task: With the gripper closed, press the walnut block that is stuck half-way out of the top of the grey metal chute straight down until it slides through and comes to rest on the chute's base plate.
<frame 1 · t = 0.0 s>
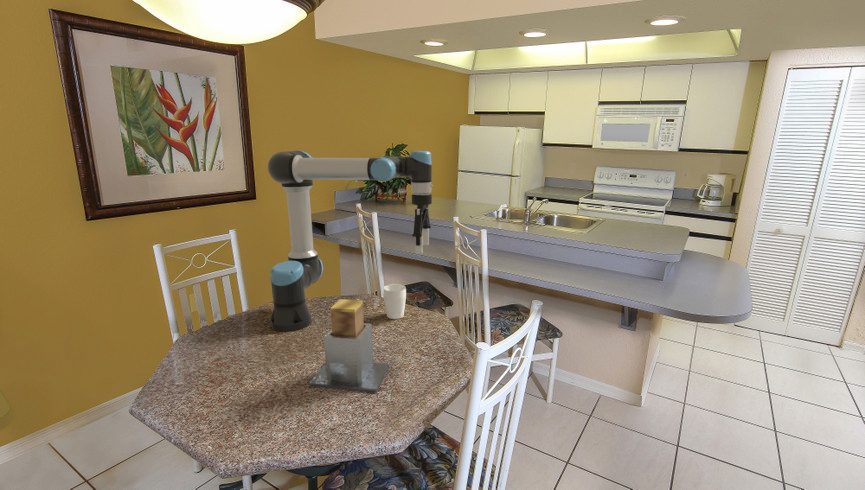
hand: (422, 249, 163), 28 cm above the table, fingers open, 13 cm apart
chute: (350, 376, 128), on the table
cup: (395, 316, 172), on the table
block: (348, 326, 124), point 16 cm above the table, slide at 0.0 cm
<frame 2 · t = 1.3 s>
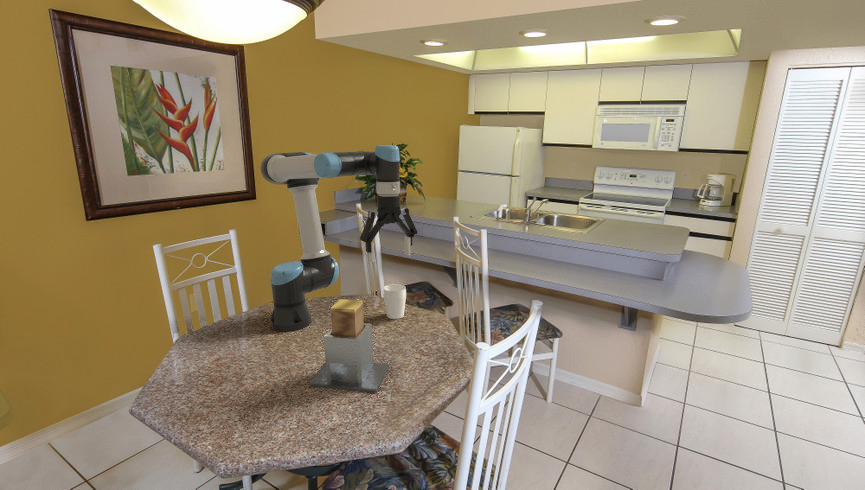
hand: (390, 258, 142), 30 cm above the table, fingers open, 13 cm apart
nothing on the table moved.
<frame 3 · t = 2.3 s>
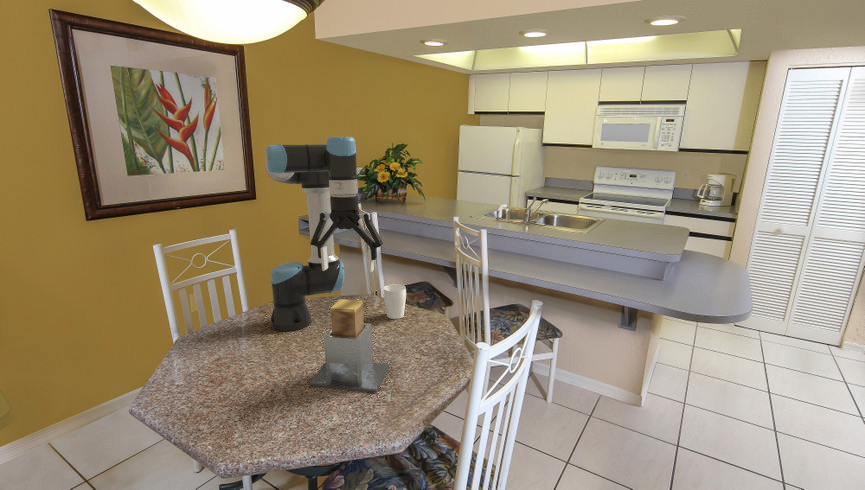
hand: (348, 270, 121), 33 cm above the table, fingers open, 13 cm apart
nothing on the table moved.
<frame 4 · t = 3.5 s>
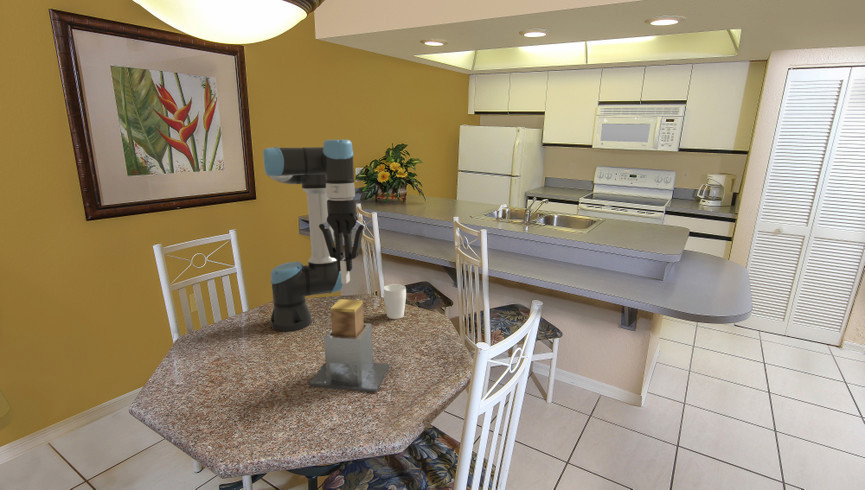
hand: (345, 281, 121), 30 cm above the table, fingers closed
nothing on the table moved.
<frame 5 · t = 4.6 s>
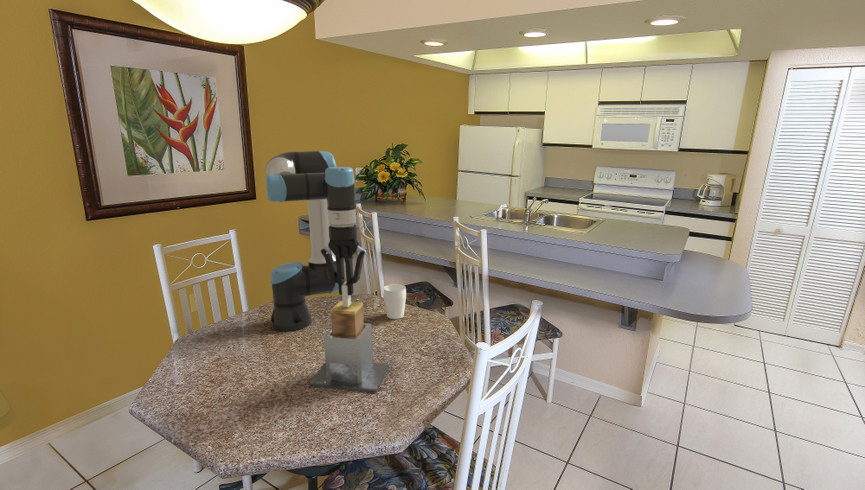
hand: (347, 305, 122), 23 cm above the table, fingers closed
block: (348, 328, 124), point 15 cm above the table, slide at 0.6 cm, touching gripper
everything else where it was.
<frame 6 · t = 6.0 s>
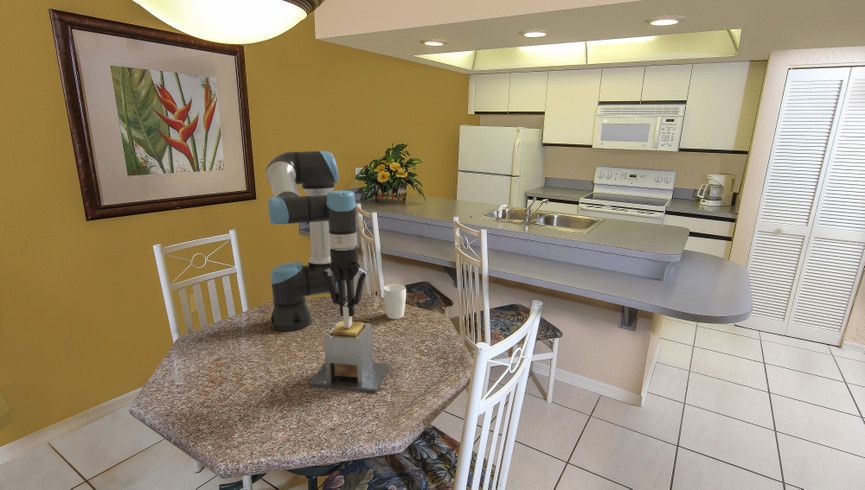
hand: (348, 326, 124), 16 cm above the table, fingers closed
block: (349, 348, 126), point 9 cm above the table, slide at 7.0 cm, touching gripper
everything else where it was.
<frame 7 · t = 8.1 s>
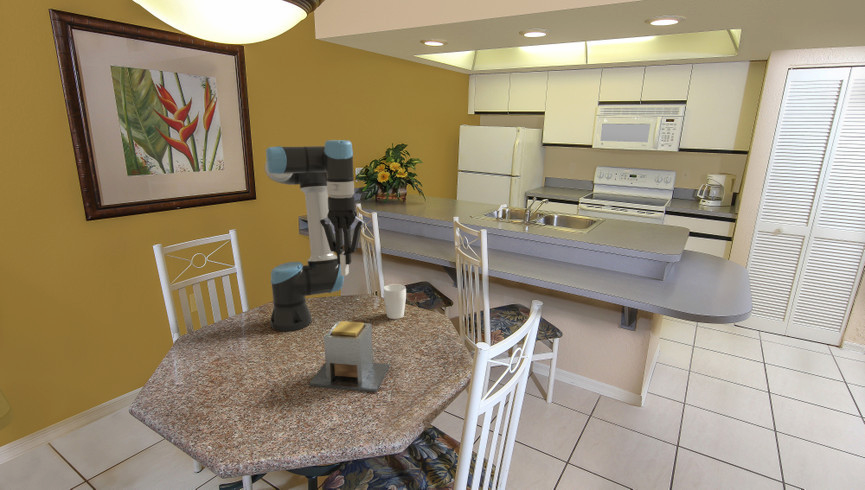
hand: (345, 274, 128), 30 cm above the table, fingers closed
block: (349, 348, 126), point 9 cm above the table, slide at 7.0 cm
everything else where it was.
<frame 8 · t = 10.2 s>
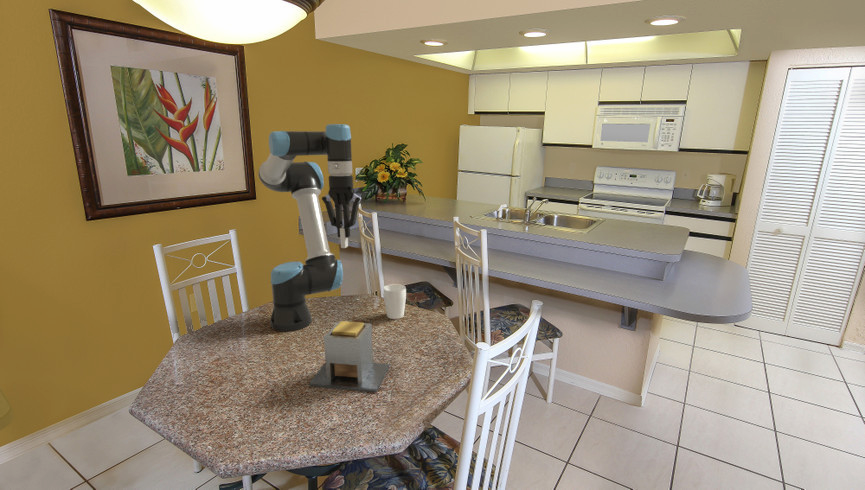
hand: (344, 246, 141), 34 cm above the table, fingers closed
nothing on the table moved.
at the end: block slide at 7.0 cm; block point 9.0 cm above the table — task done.
